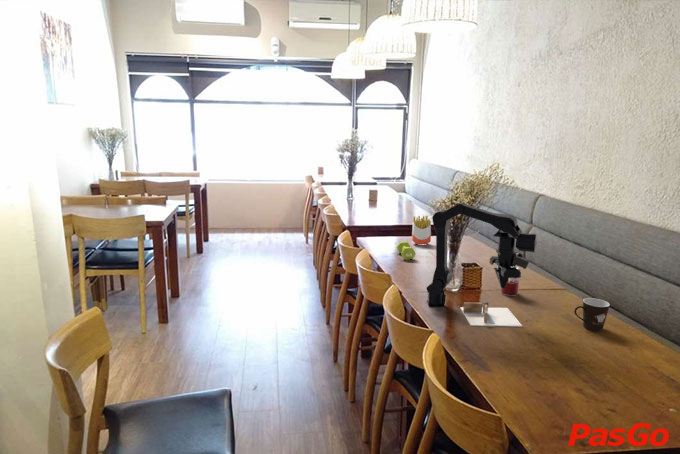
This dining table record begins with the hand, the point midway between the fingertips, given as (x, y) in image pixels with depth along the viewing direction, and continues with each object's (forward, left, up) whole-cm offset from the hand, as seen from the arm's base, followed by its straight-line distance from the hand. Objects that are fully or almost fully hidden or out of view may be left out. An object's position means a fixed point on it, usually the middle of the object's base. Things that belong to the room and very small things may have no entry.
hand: (502, 288), depth 178 cm
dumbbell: (-28, +83, -12) cm, 88 cm away
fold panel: (-7, -3, -11) cm, 13 cm away
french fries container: (-15, +110, -12) cm, 112 cm away
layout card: (-4, 0, -12) cm, 13 cm away
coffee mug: (+30, -8, -12) cm, 33 cm away
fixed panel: (-9, +3, -12) cm, 15 cm away
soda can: (+12, +26, -12) cm, 31 cm away
